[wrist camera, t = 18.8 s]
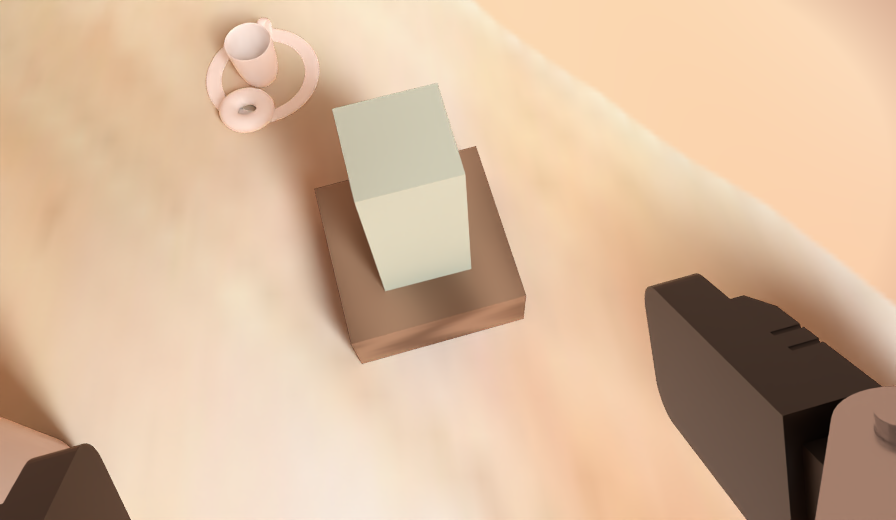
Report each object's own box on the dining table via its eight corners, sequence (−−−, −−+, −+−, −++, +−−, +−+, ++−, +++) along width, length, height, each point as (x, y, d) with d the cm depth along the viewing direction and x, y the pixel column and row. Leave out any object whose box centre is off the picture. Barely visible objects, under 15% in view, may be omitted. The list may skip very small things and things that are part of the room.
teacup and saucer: (258, 156, 54) (241, 123, 50) (177, 96, 56) (154, 61, 53) (343, 69, 57) (333, 31, 53) (262, 15, 59) (246, -25, 55)
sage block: (385, 291, 45) (354, 202, 35) (366, 214, 47) (332, 108, 37) (471, 269, 45) (465, 174, 35) (449, 193, 47) (437, 82, 37)
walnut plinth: (362, 363, 48) (351, 344, 44) (327, 218, 52) (314, 189, 48) (523, 318, 48) (526, 295, 45) (476, 177, 52) (475, 146, 48)
